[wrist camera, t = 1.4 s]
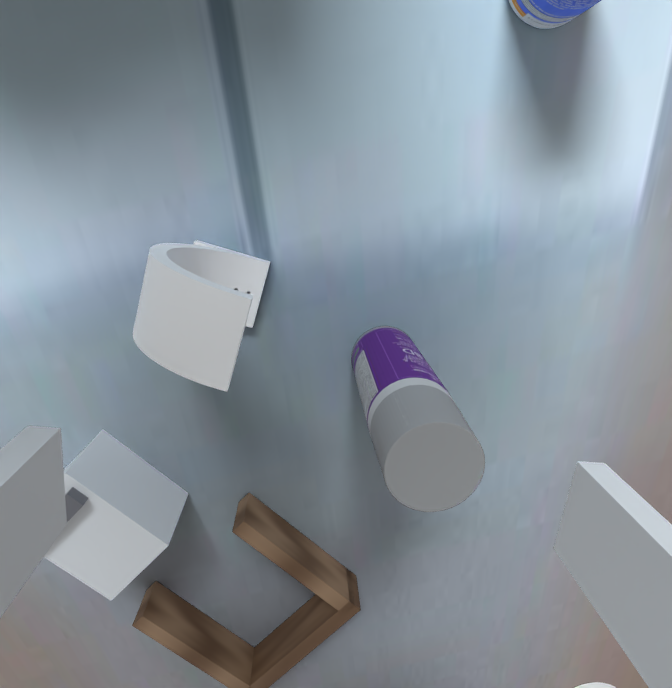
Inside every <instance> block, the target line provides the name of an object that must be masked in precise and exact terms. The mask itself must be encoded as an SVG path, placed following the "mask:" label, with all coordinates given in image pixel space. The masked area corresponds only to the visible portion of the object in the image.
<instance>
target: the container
mask: <svg viewBox="0 0 672 688" xmlns="http://www.w3.org/2000/svg"><path fill="white" fill-rule="evenodd" d="M351 360H352V366H353V370H354V374H355V378H356V382H357V386H358V390H359V394H360V398H361V402H362V406H363V409H364V413H365V417H366V421H367V425H368V429H369V432H370V435H371V438H372V442H373V445H374V448H375V451H376V454H377V457H378V460H379V464H380V467H381V470H382V473H383V476H384V479H385V482H386V485H387V487H388V489H389V491H390V493H391V494H392V495H393V497H394V498H395V499H396V500H398V501H399V502H400V503H401V504H403V505H405V506H406V507H409V508H411V509H414V510H418V511H423V512H436V511H442V510H446V509H449V508H452V507H454V506H456V505H458V504H460V503H461V502H463V501H464V500H466V499H467V498H468V497H469V496H470V495H471V494H472V493H473V492H474V491H475V489H476V488H477V486H478V485H479V483H480V481H481V479H482V476H483V473H484V468H485V457H484V452H483V449H482V447H481V445H480V443H479V441H478V440H477V438H476V436H475V435H474V433H473V431H472V430H471V428H470V427H469V425H468V423H467V422H466V420H465V419H464V417H463V415H462V414H461V412H460V410H459V409H458V407H457V406H456V404H455V402H454V401H453V399H452V397H451V396H450V394H449V393H448V391H447V390H446V388H445V387H444V386H443V384H442V383H441V381H440V380H439V379H438V377H437V376H436V374H435V373H434V371H433V370H432V369H431V367H430V366H429V364H428V363H427V361H426V360H425V359H424V357H423V356H422V354H421V353H420V351H419V350H418V349H417V347H416V346H415V344H414V343H413V341H412V340H411V339H410V338H409V336H408V335H407V334H406V333H404V332H403V331H401V330H400V329H397V328H395V327H390V326H380V327H376V328H373V329H370V330H368V331H367V332H365V333H364V334H363V335H362V336H361V337H360V338H359V339H358V340H357V342H356V343H355V345H354V347H353V350H352V357H351Z"/></svg>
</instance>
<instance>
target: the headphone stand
mask: <svg viewBox="0 0 672 688" xmlns="http://www.w3.org/2000/svg"><path fill="white" fill-rule="evenodd" d="M269 266H270V261H267V260H263V259H260V258H257V257H253V256H250V255H247V254H243V253H240V252H236V251H233V250H230V249H226V248H223V247H220V246H216V245H213V244H210V243H206V242H203V241H199V240H195V241H194V244H193V245H192V244H183V243H161V244H156V245H153V246H151V247H150V250H149V255H148V260H147V265H146V270H145V275H144V279H143V284H142V289H141V294H140V299H139V304H138V309H137V314H136V319H135V324H134V329H133V339H134V341H135V343H136V345H137V346H138V348H139V349H140V350H141V351H142V352H143V353H144V354H145V355H147V356H148V357H149V358H150V359H152V360H153V361H155V362H156V363H158V364H159V365H161V366H163V367H164V368H166V369H168V370H170V371H172V372H174V373H176V374H178V375H180V376H182V377H185V378H187V379H189V380H192V381H195V382H197V383H200V384H203V385H206V386H209V387H212V388H215V389H219V390H222V391H226V392H227V391H228V388H229V386H230V382H231V379H232V375H233V371H234V367H235V363H236V360H237V356H238V352H239V348H240V345H241V341H242V337H243V333H244V330H245V326H247V327H251V328H252V327H253V325H254V321H255V318H256V314H257V310H258V306H259V303H260V299H261V295H262V292H263V288H264V284H265V281H266V277H267V273H268V269H269ZM249 291H250V292H249Z"/></svg>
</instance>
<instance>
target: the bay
mask: <svg viewBox="0 0 672 688" xmlns="http://www.w3.org/2000/svg"><path fill="white" fill-rule="evenodd" d="M232 532H233V533H235V534H236V535H237V536H239V537H240V538H241V539H243V540H244V541H245V542H247V543H248V544H249V545H251V546H252V547H253V548H255V549H256V550H257V551H259V552H260V553H261V554H263V555H264V556H265V557H267V558H268V559H269V560H271V561H272V562H273V563H275V564H276V565H277V566H279V567H280V568H282V569H283V570H284V571H286V572H287V573H288V574H290V575H291V576H292V577H294V578H295V579H296V580H298V581H299V582H300V583H302V584H303V585H304V586H306V587H307V588H308V589H310V590H311V591H312V592H314V593H315V595H314V596H313V597H312V598H311V599H310V600H309V601H307V602H306V603H305V604H304V605H303V606H302V607H301V608H299V609H298V610H297V611H296V612H295V613H294V614H292V615H291V616H290V617H289V618H288V619H287V620H286V621H284V622H283V623H282V624H281V625H280V626H279V627H278V628H276V629H275V630H274V631H273V632H272V633H271V634H269V635H268V636H267V637H266V638H265V639H264V640H263V641H261V642H260V643H259V644H258V645H257V646H256V647H253V646H251V645H250V644H248V643H247V642H245V641H244V640H242V639H241V638H239V637H238V636H236V635H235V634H233V633H232V632H230V631H229V630H228V629H226V628H225V627H223V626H222V625H220V624H219V623H217V622H216V621H214V620H213V619H211V618H210V617H208V616H207V615H205V614H204V613H203V612H201V611H200V610H198V609H197V608H195V607H194V606H192V605H191V604H189V603H188V602H186V601H185V600H183V599H182V598H181V597H179V596H178V595H176V594H175V593H173V592H172V591H170V590H169V589H167V588H166V587H164V586H163V585H161V584H160V583H158V582H157V581H155V582H154V583H153V584H152V585H151V586H150V587H149V588H148V589H147V590H146V593H145V595H144V598H143V600H142V603H141V605H140V608H139V610H138V613H137V615H136V618H135V620H134V623H133V625H132V626H134V627H135V628H137V629H138V630H140V631H141V632H143V633H144V634H146V635H148V636H149V637H151V638H152V639H154V640H155V641H157V642H158V643H160V644H162V645H163V646H165V647H166V648H168V649H169V650H171V651H172V652H174V653H176V654H177V655H179V656H180V657H182V658H183V659H185V660H186V661H188V662H190V663H191V664H193V665H194V666H196V667H197V668H199V669H200V670H202V671H204V672H205V673H207V674H208V675H210V676H211V677H213V678H214V679H216V680H218V681H219V682H221V683H222V684H224V685H225V686H227V687H228V688H268V687H270V686H271V685H272V684H273V683H274V682H276V681H277V680H278V679H279V678H280V677H281V676H283V675H284V674H285V673H286V672H287V671H289V670H290V669H291V668H292V667H293V666H295V665H296V664H297V663H298V662H299V661H300V660H302V659H303V658H304V657H305V656H306V655H308V654H309V653H310V652H311V651H312V650H314V649H315V648H316V647H317V646H318V645H319V644H321V643H322V642H323V641H324V640H325V639H327V638H328V637H329V636H330V635H331V634H332V633H334V632H335V631H336V630H337V629H338V628H340V627H341V626H342V625H343V624H344V623H346V622H347V621H348V620H349V619H350V618H351V617H353V616H354V615H355V614H356V613H357V612H359V611H360V610H361V609H360V601H359V593H358V586H357V578H356V575H354V574H353V573H352V572H351V571H349V570H348V569H347V568H345V567H344V566H343V565H342V564H340V563H339V562H338V561H336V560H335V559H334V558H333V557H331V556H330V555H329V554H328V553H326V552H325V551H324V550H322V549H321V548H320V547H319V546H317V545H316V544H315V543H313V542H312V541H311V540H310V539H308V538H307V537H306V536H304V535H303V534H302V533H301V532H299V531H298V530H297V529H295V528H294V527H293V526H292V525H290V524H289V523H288V522H286V521H285V520H284V519H283V518H281V517H280V516H279V515H278V514H276V513H275V512H274V511H272V510H271V509H270V508H269V507H267V506H266V505H265V504H263V503H262V502H261V501H260V500H258V499H257V498H256V497H254V496H253V495H252V494H251V493H248V494H247V495H246V496H245V497H244V498H243V499H242V500H241V501H240V502H239V503H238V508H237V513H236V517H235V522H234V526H233V531H232Z"/></svg>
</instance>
